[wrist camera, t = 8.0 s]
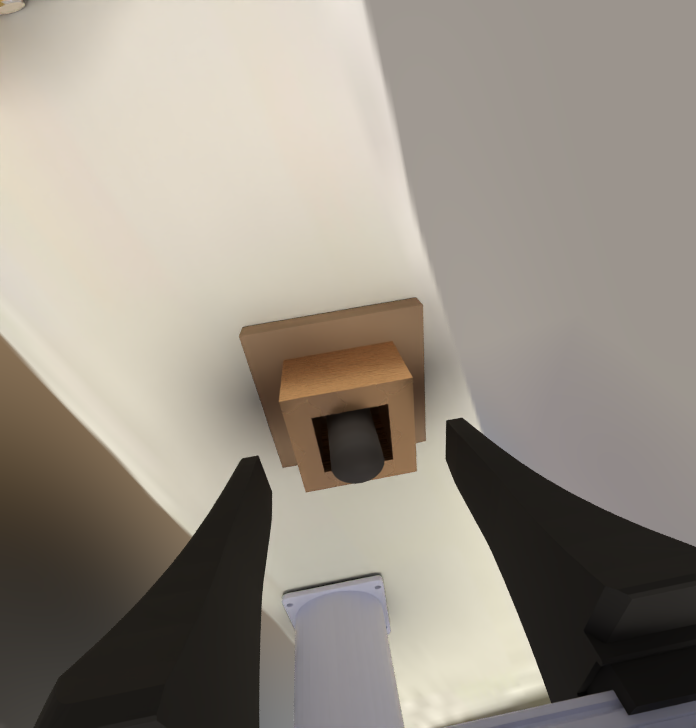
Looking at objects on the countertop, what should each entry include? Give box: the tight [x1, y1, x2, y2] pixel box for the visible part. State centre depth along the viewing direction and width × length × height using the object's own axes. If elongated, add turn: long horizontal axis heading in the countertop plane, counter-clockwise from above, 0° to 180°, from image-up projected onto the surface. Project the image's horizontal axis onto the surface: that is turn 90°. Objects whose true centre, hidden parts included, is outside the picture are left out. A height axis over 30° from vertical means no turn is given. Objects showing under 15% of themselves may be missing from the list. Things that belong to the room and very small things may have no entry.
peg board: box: [239, 298, 426, 484], centre depth 15 cm, size 8×8×6 cm
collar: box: [279, 341, 417, 492], centre depth 15 cm, size 5×5×3 cm
